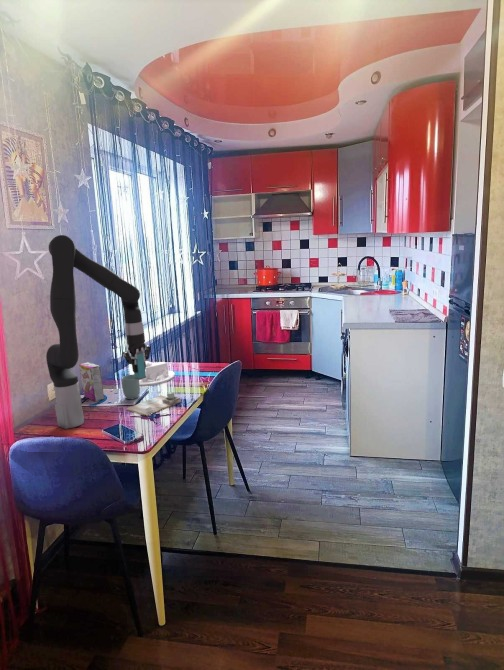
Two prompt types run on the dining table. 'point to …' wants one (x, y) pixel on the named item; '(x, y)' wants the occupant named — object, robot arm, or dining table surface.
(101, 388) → the candy bar box
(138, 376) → the teal rectangular block
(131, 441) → the dining table surface
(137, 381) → the cup
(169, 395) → the button
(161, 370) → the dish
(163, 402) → the clipboard
